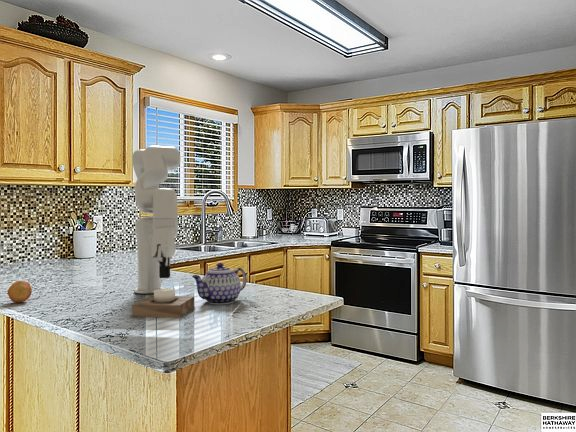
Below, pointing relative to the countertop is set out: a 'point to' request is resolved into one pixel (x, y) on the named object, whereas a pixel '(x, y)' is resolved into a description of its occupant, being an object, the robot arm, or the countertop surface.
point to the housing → (163, 307)
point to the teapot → (220, 285)
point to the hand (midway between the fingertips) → (164, 277)
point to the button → (164, 295)
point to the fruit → (19, 291)
